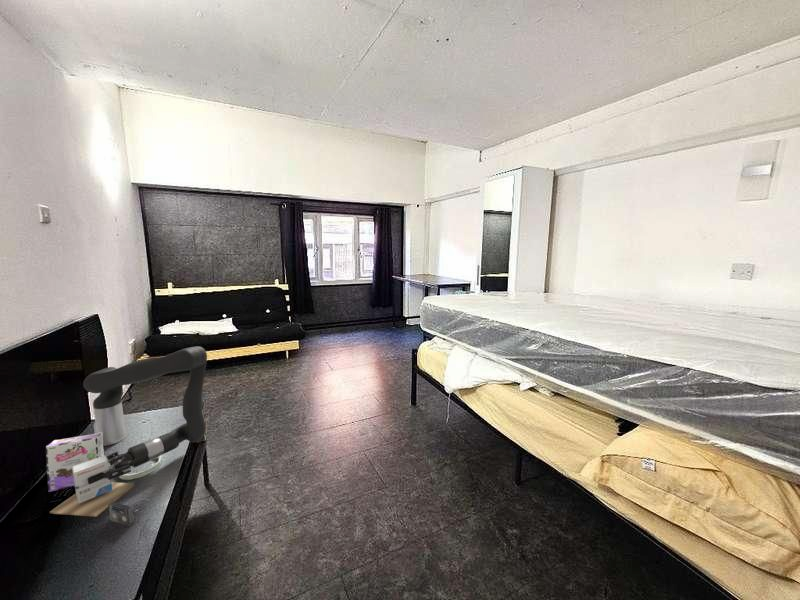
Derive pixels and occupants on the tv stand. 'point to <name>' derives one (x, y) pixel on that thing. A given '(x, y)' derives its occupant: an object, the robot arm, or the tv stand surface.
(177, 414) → the tv stand surface
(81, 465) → the ink box
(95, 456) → the candy box
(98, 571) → the tv stand surface
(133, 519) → the mini dv tape
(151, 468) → the ceramic dish
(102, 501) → the wooden board
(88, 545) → the tv stand surface
